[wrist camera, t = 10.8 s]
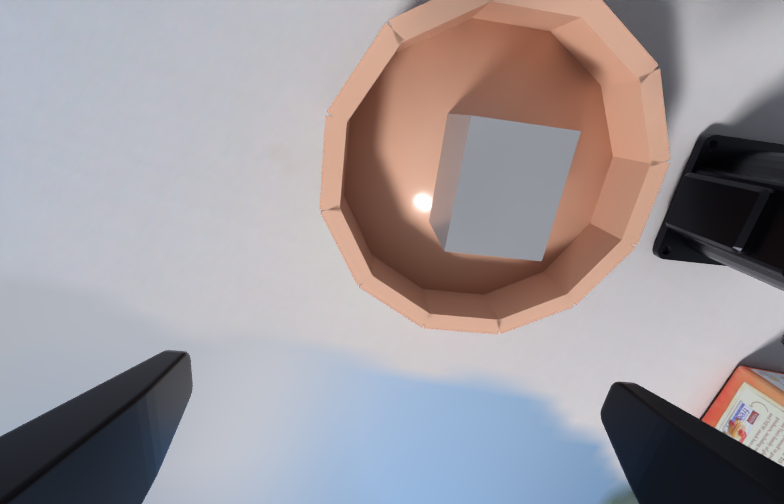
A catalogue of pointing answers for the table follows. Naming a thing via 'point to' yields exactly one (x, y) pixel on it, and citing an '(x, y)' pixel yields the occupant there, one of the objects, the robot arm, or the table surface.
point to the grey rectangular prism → (499, 186)
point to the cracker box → (752, 411)
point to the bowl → (505, 102)
